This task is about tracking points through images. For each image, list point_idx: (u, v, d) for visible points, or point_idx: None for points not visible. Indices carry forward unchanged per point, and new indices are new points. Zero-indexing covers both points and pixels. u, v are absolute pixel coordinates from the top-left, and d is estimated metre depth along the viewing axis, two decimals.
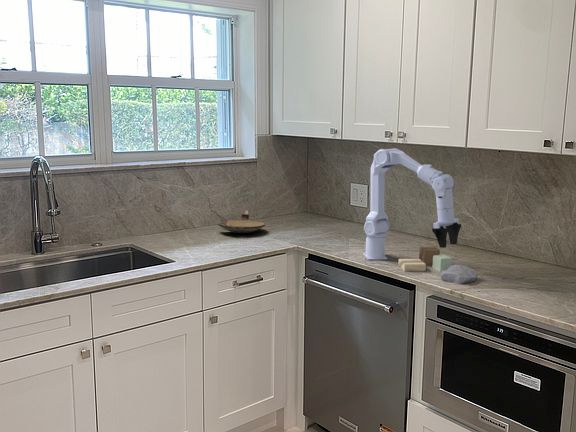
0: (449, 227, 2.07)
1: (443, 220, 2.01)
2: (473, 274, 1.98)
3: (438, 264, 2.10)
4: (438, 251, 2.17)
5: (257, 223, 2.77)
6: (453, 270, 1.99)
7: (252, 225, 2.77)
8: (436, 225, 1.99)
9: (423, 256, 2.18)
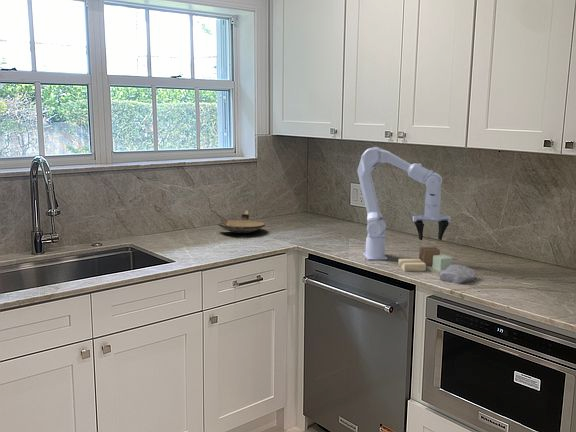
0: (439, 223, 2.19)
1: (425, 215, 2.17)
2: (472, 274, 1.99)
3: (438, 264, 2.10)
4: (438, 251, 2.17)
5: (257, 223, 2.77)
6: (452, 270, 2.00)
7: (252, 225, 2.77)
8: (413, 218, 2.17)
9: (423, 256, 2.18)
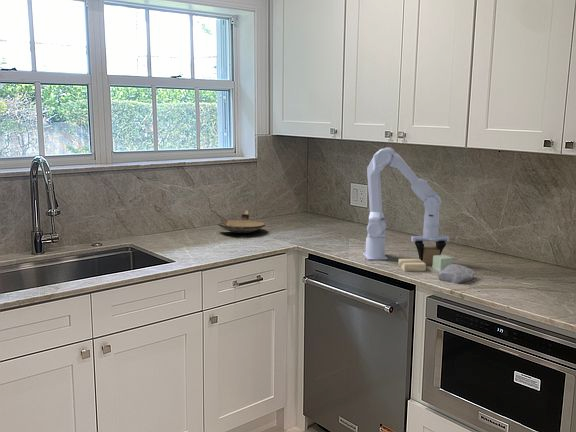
0: (437, 243, 2.21)
1: (423, 235, 2.18)
2: (470, 273, 1.99)
3: (438, 264, 2.10)
4: (438, 251, 2.17)
5: (257, 223, 2.77)
6: (450, 270, 2.00)
7: (252, 225, 2.77)
8: (412, 238, 2.18)
9: (423, 256, 2.18)
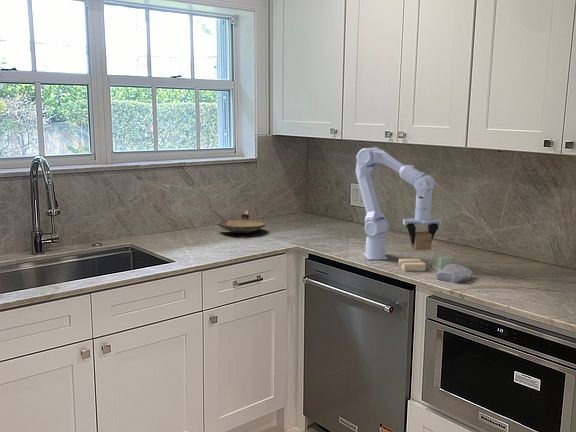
0: (429, 226, 2.15)
1: (415, 218, 2.13)
2: (468, 273, 2.00)
3: (438, 264, 2.10)
4: (430, 235, 2.12)
5: (257, 223, 2.77)
6: (448, 269, 2.00)
7: (252, 225, 2.77)
8: (403, 221, 2.13)
9: (415, 241, 2.13)
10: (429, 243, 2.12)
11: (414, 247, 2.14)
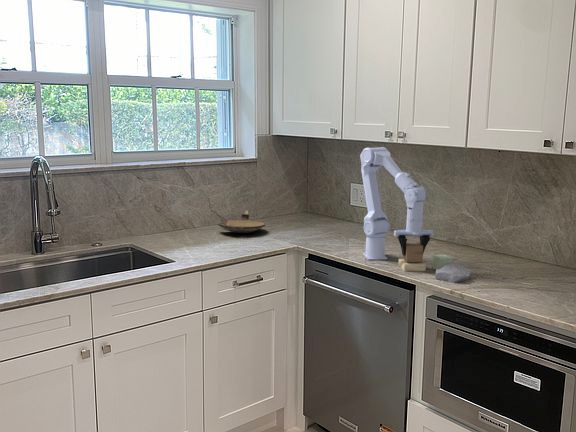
0: (420, 238, 2.13)
1: (407, 230, 2.10)
2: (467, 273, 2.00)
3: (438, 264, 2.10)
4: (421, 247, 2.09)
5: (257, 223, 2.77)
6: (447, 269, 2.01)
7: (252, 225, 2.77)
8: (394, 233, 2.10)
9: (406, 252, 2.10)
10: (420, 255, 2.09)
11: (405, 259, 2.11)
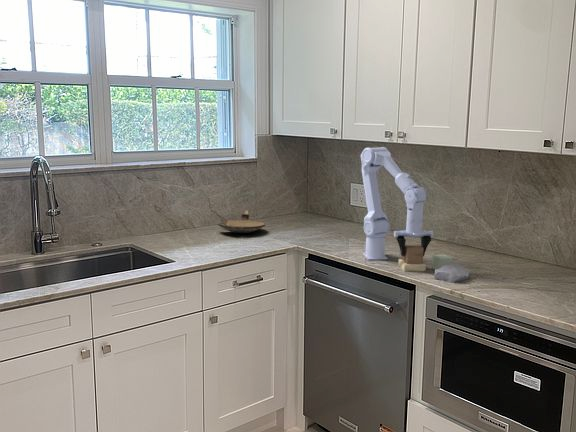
0: (422, 238, 2.13)
1: (406, 230, 2.10)
2: (466, 272, 2.00)
3: (438, 264, 2.10)
4: (422, 249, 2.09)
5: (257, 223, 2.77)
6: (446, 269, 2.01)
7: (252, 225, 2.77)
8: (394, 233, 2.10)
9: (406, 254, 2.10)
10: (420, 257, 2.10)
11: (405, 261, 2.11)
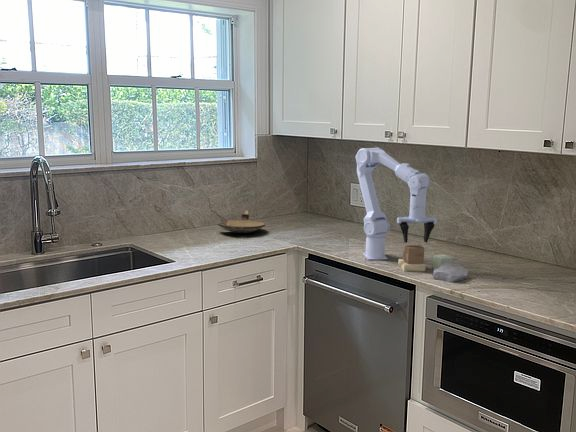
0: (425, 225, 2.13)
1: (410, 217, 2.10)
2: (464, 272, 2.01)
3: (438, 264, 2.10)
4: (422, 249, 2.09)
5: (257, 223, 2.77)
6: (445, 269, 2.01)
7: (252, 225, 2.77)
8: (397, 220, 2.10)
9: (407, 254, 2.10)
10: (421, 257, 2.10)
11: (406, 261, 2.11)
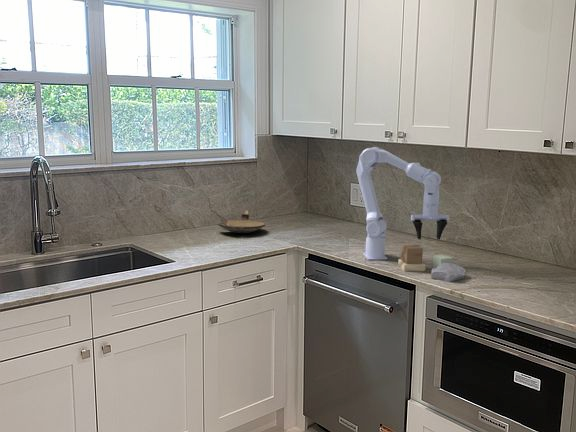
0: (438, 222, 2.18)
1: (423, 214, 2.16)
2: (462, 272, 2.01)
3: (438, 264, 2.10)
4: (421, 249, 2.09)
5: (257, 223, 2.77)
6: (443, 268, 2.02)
7: (252, 225, 2.77)
8: (411, 217, 2.16)
9: (406, 254, 2.10)
10: (420, 257, 2.10)
11: (405, 261, 2.11)
